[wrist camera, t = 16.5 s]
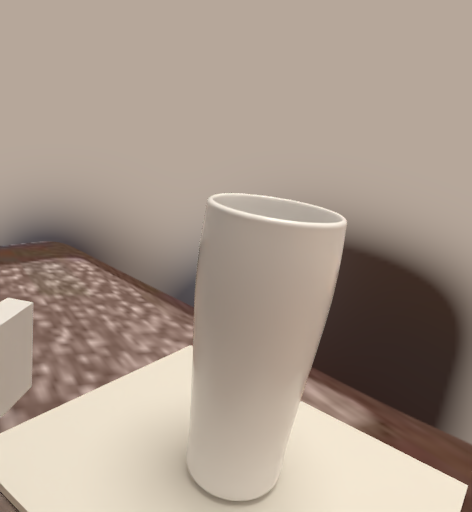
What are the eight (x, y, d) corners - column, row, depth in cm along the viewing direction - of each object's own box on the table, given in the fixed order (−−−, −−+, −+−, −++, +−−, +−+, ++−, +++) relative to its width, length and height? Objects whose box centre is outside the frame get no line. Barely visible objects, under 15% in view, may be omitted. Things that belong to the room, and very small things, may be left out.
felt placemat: (-33, 456, 24) (-33, 448, 24) (189, 350, 38) (190, 345, 38) (355, 864, 12) (359, 854, 12) (465, 492, 27) (467, 485, 27)
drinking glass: (290, 534, 22) (358, 233, 18) (155, 501, 22) (190, 205, 18) (293, 442, 28) (343, 208, 24) (188, 419, 29) (219, 187, 25)
